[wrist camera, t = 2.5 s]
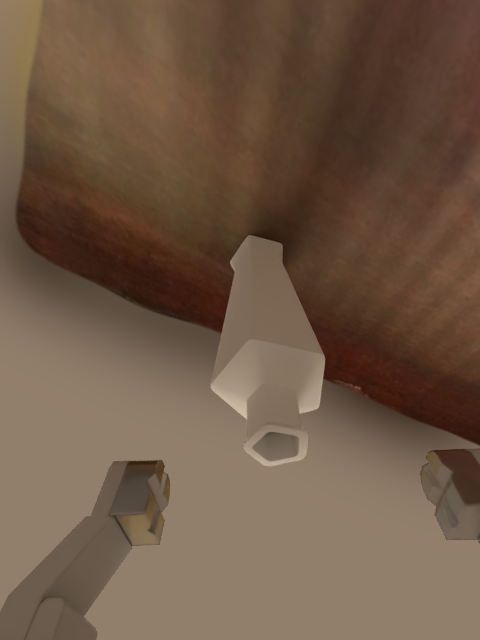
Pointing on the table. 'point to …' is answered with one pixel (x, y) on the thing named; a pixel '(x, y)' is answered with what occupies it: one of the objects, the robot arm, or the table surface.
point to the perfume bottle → (268, 355)
